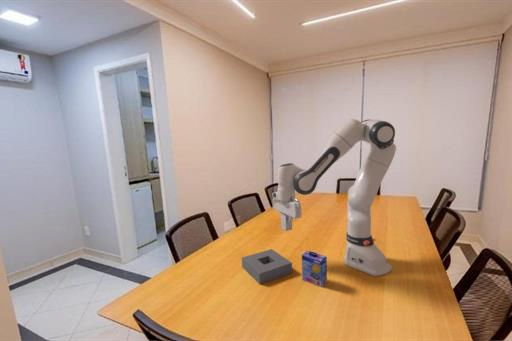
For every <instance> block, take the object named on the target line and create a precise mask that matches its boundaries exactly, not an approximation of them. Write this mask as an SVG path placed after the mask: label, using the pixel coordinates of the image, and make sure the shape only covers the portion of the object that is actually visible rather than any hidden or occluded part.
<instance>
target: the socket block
mask: <svg viewBox="0 0 512 341" xmlns="http://www.w3.org/2000/svg"><path fill="white" fill-rule="evenodd" d="M241 267H242V268H243V269H244V271H245V272H247V273H248V275H249V276H251V277H252V279H254V280H255V282H256V283H258V284H259V285H262V284H264V283H267V282H270V281H273V280H276V279H278V278H281V277H283V276H284V277H285V276H286V275H289V274H293V262H292V261H291V260H288V259H287V258H286V257H284V256H283V255H281V254H280V253H278V252H276V251H275V250H274V249H272V248H270V249H267V250H264V251H260V252H257V253H253V254H250V255H245V256H243V257H241Z"/></svg>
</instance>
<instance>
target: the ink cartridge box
mask: <svg viewBox="0 0 512 341" xmlns="http://www.w3.org/2000/svg"><path fill="white" fill-rule="evenodd" d="M327 258H328V257H327V255H323V254H319V253H317V252H314V251H310V250H306V251H305V252H304V253H302V254H301V273H302V275H301V278H302V281H304V282H307V283H310V284H313V285H314V286H317V287H320V288H323V287H324V286H325V285H326V284H327V282H328V270H327V268H328V266H327V263H328V261H327Z"/></svg>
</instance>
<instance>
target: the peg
mask: <svg viewBox="0 0 512 341" xmlns="http://www.w3.org/2000/svg"><path fill="white" fill-rule="evenodd" d="M287 220H289V216H288V215H286V214H283V213H282V214H281V216H280V229H281V230H283V231H285V232H287V231H292V230H293V223H292V224H288V223H287Z"/></svg>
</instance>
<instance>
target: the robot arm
mask: <svg viewBox="0 0 512 341" xmlns="http://www.w3.org/2000/svg"><path fill="white" fill-rule="evenodd" d="M395 136H396V130H395V127H394V125H393V124H391V123H390V122H388V121H385V120H381V119H364V120H361V121H359V120H358V119H354V118H351V119H348V120H346V121H345V122H344V123H343V124H341V125H340V126H339V127H338V128H337V129H336V130H335V131H333V133H332V134H331V135H330V137H328V138H327V140H326V142H325V143H324V146H323V151H322V153H321V155H320V156H319V157H318V159H317V160H316V161H315V162H314V163H313V164H312V165H311V166H310V167H309V168H308V169H303V168H301V167H299V166H297V165H296V164H294V163H291V162H290V163H284V164H281V165H280V166H279V167H278V169H277V175H276V176H277V178H276V180H277V184H278V185H277V186H278V187H277V191H274V192H272V193H271V194H272V208H273V210H275V211H277V212H278V213H279V215H280V217H281V214H282V213H283V214H286V215H288V216H289V220H287V223H288V224H292V225H293V220H294V219H295V220H297V219H300V218H302V206H301V203H300V200H298V199H297V198H296V193H298V194H300V195H304V196H307V195H310V194H312V193H313V192H314V191H315V189H316V187H317V185H318V182H319V181H320V179H321V178H322V177H323V176H324V174H326V173H327V171H328V170H329V169H330V168H331V167H332V166H333V164H335V163H336V162H337V161H339V159H341V158H342V157H344V156H345V155H346V154H347V153H348V152H349V151H350V150H352V148H354V146H356V144H357V143H359V142H360V141H363V142H365V143H368V144H369V145H370V148H369V152H368V153H367V156H366V157H365V159H364V161H363V163H362V165H361V166H360V168H359V171H358V173H357V177H356V179H355V181H354V183H353V185H351V186H350V187H349V188H348V190H347V223H346V224H347V231H346V236H345V237H346V238H345V239H346V248H345V252H344V255H343V256H344V257H343V260H344V265H345V266H348V267H350V268H353V269H355V270H358V271H360V272H363V273H366V274H368V275H370V276H373V277H375V276H376V277H379V276H383V275H386V274H388V273H390V272H391V271H392V268H393V267H392V265H391V264H389V263H387V259H386V258H387V257H386V255H385V253H383V252H382V250H381V249H380V248H379V247H378V246H377V245H376V244H375V242H376V238H373V235H372V233H371V232H372V217H371V216H372V214H371V213H372V212H371V211H372V210H371V207H372V205H373V203H374V200H375V198H376V196H377V194H378V192H379V188H380V186H381V183H382V182H383V180H384V178H385V175H386V173H387V172H388V170H389V169H390V166H391V164H392V162H393V160H394V157H395V155H396V151H397V146H396V144H395Z"/></svg>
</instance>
